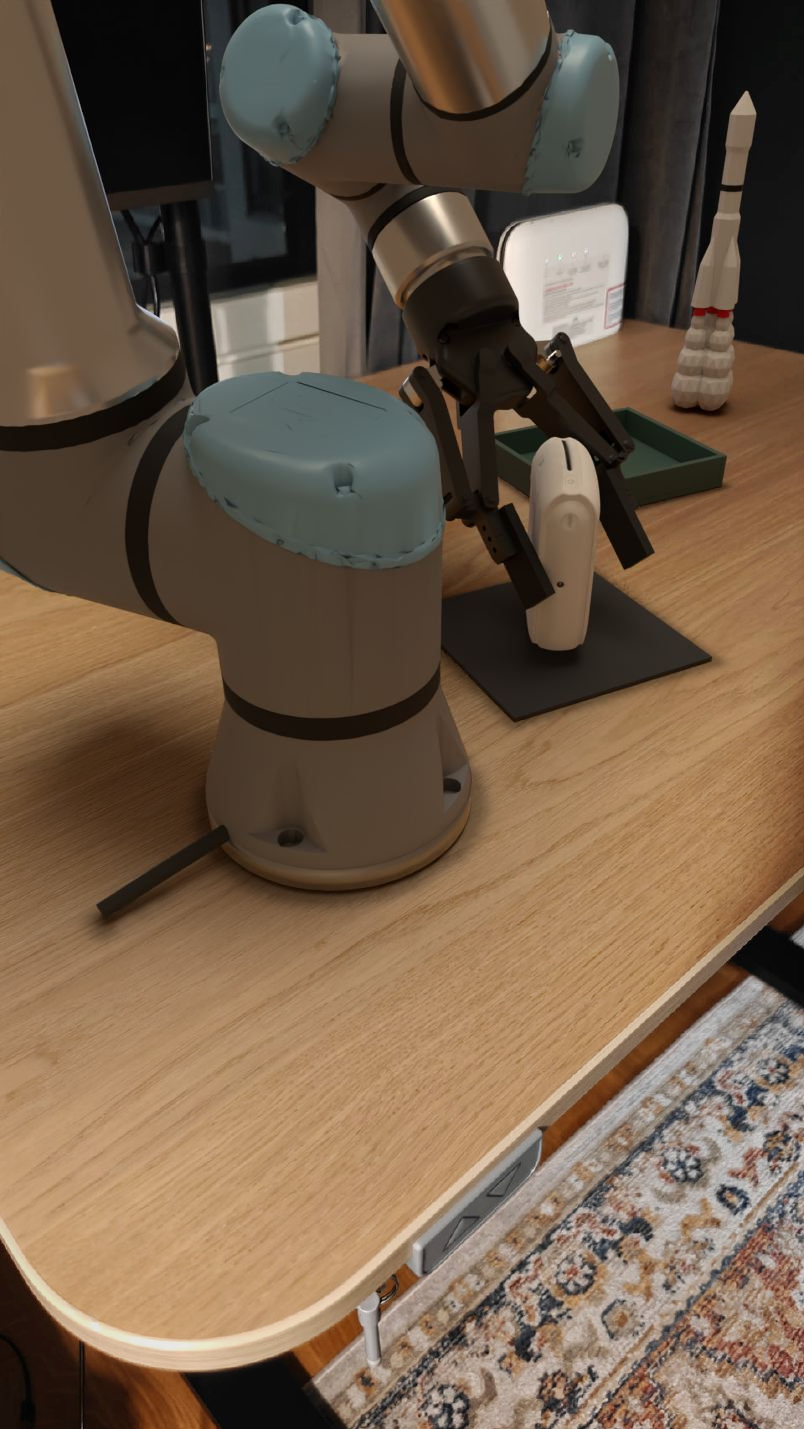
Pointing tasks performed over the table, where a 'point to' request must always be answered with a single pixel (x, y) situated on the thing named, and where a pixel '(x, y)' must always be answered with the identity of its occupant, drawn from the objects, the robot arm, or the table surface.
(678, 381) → the rocket model
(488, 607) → the mat
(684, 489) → the tray
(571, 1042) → the table surface
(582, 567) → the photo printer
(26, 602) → the table surface
